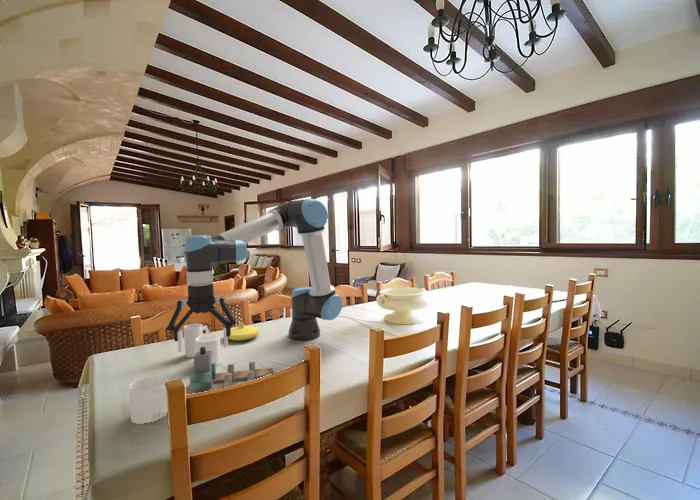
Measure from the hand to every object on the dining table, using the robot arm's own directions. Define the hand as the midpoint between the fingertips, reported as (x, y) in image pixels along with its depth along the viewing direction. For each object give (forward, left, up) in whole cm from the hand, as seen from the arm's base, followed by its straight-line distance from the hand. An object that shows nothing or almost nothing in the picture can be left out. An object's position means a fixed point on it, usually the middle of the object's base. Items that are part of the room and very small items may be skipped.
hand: (203, 348), depth 106 cm
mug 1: (+10, +15, -13) cm, 22 cm away
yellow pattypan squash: (-8, -47, -13) cm, 49 cm away
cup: (+3, -20, -13) cm, 24 cm away
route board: (-9, 0, -13) cm, 15 cm away
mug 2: (+8, -31, -13) cm, 34 cm away
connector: (0, 0, -12) cm, 12 cm away
